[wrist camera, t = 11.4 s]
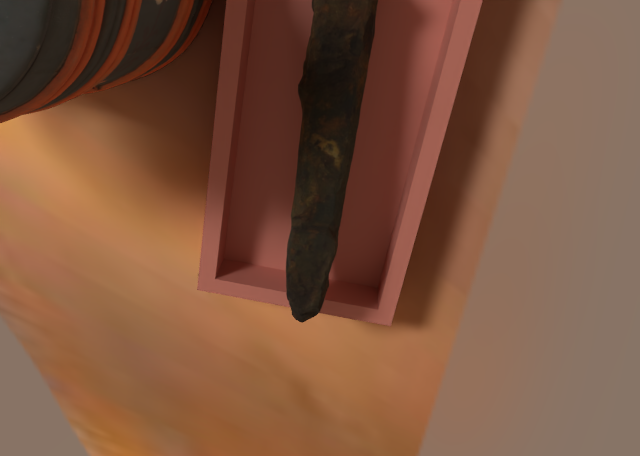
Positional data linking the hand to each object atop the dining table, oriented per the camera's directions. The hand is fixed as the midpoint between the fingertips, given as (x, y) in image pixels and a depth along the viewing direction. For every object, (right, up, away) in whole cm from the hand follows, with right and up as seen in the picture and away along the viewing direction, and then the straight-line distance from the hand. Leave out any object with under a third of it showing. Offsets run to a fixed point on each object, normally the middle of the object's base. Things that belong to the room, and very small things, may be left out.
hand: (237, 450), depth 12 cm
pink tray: (+3, +13, +22) cm, 25 cm away
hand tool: (+3, +9, +21) cm, 23 cm away
